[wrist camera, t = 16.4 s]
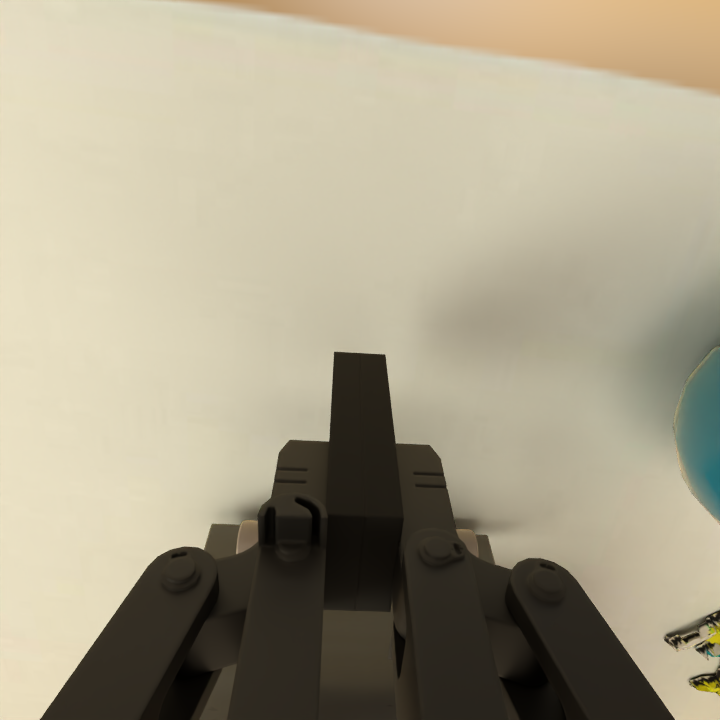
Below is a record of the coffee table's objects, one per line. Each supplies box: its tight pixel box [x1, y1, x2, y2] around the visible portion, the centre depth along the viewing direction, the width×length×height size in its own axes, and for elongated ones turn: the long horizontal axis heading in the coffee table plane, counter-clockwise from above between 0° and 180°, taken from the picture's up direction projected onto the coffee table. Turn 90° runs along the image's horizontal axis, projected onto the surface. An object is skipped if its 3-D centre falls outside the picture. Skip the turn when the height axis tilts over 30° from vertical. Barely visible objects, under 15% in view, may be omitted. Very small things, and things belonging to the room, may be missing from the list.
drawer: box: [199, 520, 495, 720], centre depth 22 cm, size 18×11×8 cm, turn 176°
